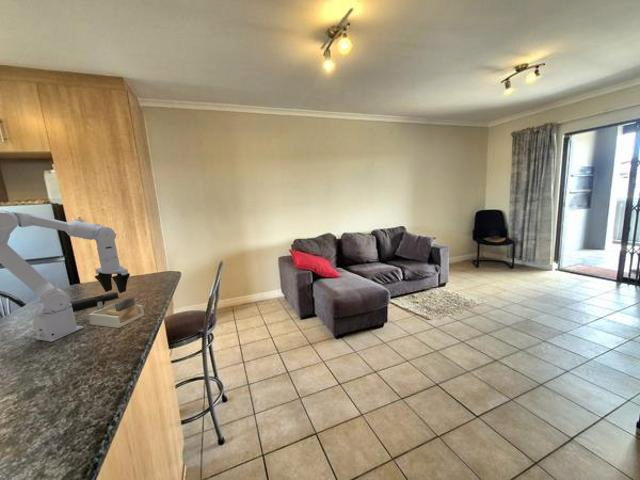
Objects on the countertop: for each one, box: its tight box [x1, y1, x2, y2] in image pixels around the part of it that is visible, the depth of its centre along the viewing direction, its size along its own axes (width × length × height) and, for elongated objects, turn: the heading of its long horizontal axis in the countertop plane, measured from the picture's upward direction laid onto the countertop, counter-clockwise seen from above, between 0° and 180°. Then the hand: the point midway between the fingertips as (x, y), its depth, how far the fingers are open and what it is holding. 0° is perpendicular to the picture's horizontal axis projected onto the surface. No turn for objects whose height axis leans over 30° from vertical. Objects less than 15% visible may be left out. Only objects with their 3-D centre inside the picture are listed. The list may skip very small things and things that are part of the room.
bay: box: [87, 302, 145, 329], centre depth 101 cm, size 10×14×4 cm
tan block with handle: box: [106, 297, 139, 323], centre depth 99 cm, size 7×6×7 cm
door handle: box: [70, 292, 119, 313], centre depth 115 cm, size 3×20×16 cm
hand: (115, 291), depth 105 cm, fingers open, 7 cm apart
